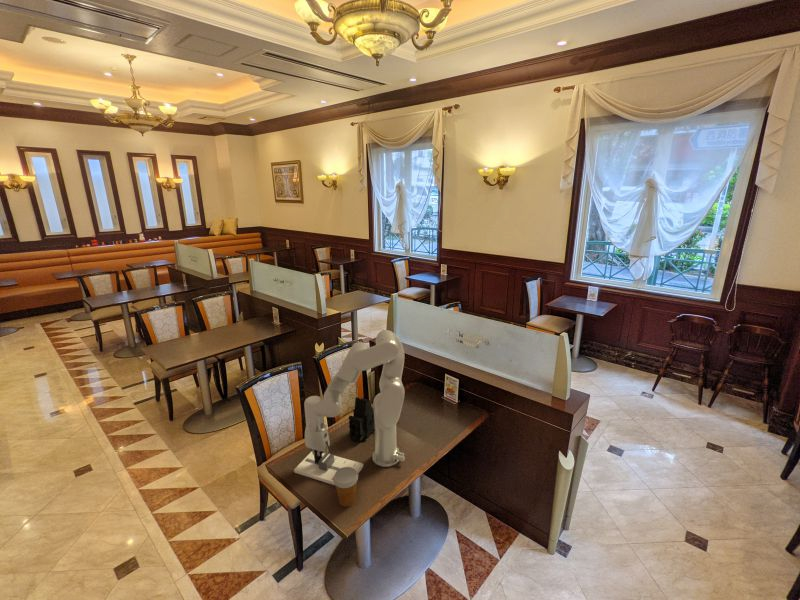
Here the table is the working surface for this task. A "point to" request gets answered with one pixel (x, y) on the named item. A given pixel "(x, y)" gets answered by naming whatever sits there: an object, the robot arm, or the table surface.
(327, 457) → the fader knob
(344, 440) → the table surface
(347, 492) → the disposable coffee cup
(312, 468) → the fader console
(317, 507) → the table surface
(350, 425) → the camera
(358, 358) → the robot arm
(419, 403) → the table surface
